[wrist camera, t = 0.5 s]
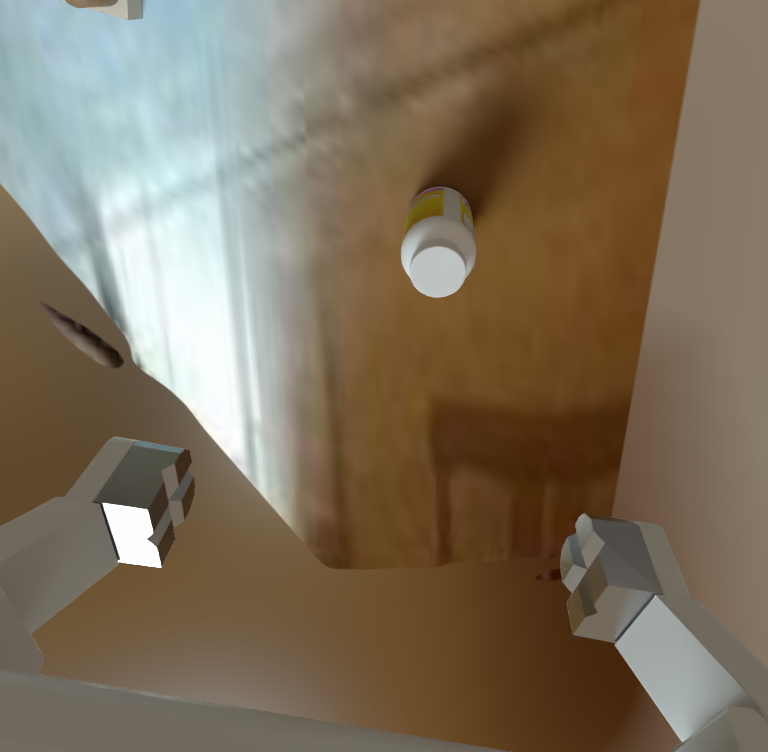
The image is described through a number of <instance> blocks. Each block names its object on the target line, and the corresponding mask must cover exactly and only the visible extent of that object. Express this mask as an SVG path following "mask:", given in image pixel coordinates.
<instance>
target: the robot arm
mask: <svg viewBox="0 0 768 752" xmlns="http://www.w3.org/2000/svg"><path fill="white" fill-rule="evenodd" d="M191 462H192V461H191V456H190V451H189V450H186V449H181V448H175V447H170V446H165V445H159V444H154V443H149V442H144V441H137V440H132V439H126V438H120V437H113V438H112V439H110V440H108V441H107V442H106V443H105V445H104V446H103V447H102V449H101V450H100V451H99V452H98V454H97V455H96V457H95V458H94V459H93V460H92V462H91V463H90V465H89V466H88V467H87V468H86V470H85V471H84V472H83V474H82V475H81V476H80V478H79V479H78V480H77V482H76V483H75V484H74V486H73V487H72V488H71V489H70V491H69V492H68V493H67V495H66V496H65V497H64V498H62V497H55V498H54V499H52V500H50V501H48V502H46V503H44V504H42V505H40V506H38V507H36V508H35V509H33V510H31V511H29V512H27V513H25V514H23V515H21V516H19V517H18V518H16V519H14V520H12V521H10V522H8V523H6V524H4V525H2V526H0V752H510V751H504V750H498V749H492V748H485V747H480V746H474V745H467V744H461V743H455V742H449V741H443V740H437V739H431V738H425V737H419V736H413V735H406V734H401V733H395V732H389V731H383V730H376V729H370V728H364V727H358V726H352V725H346V724H340V723H334V722H328V721H322V720H315V719H309V718H304V717H298V716H292V715H285V714H279V713H273V712H267V711H261V710H255V709H249V708H243V707H237V706H230V705H225V704H218V703H212V702H206V701H200V700H194V699H188V698H182V697H176V696H170V695H163V694H158V693H151V692H146V691H139V690H133V689H127V688H121V687H114V686H108V685H102V684H97V683H91V682H84V681H78V680H72V679H66V678H60V677H54V676H48V675H42V674H37V673H38V671H39V670H40V668H41V666H42V664H43V663H44V658H43V654H42V652H41V651H40V649H39V647H38V645H37V644H36V642H35V640H34V639H33V637H32V635H31V633H33V632H34V631H35V630H36V629H37V628H39V627H40V626H41V625H43V624H44V623H45V622H46V621H48V620H49V619H50V618H51V617H53V616H54V615H55V614H57V613H58V612H59V611H60V610H61V609H63V608H64V607H65V606H66V605H68V604H69V603H71V602H72V601H73V600H74V599H76V598H77V597H78V596H79V595H81V594H82V593H83V592H84V591H86V590H87V589H88V588H90V587H91V586H92V585H93V584H95V583H96V582H97V581H98V580H99V579H101V578H102V577H103V576H105V575H106V574H107V573H109V572H110V571H111V570H112V569H114V568H115V567H116V566H117V565H118V564H119V563H118V562H125V563H132V564H139V565H147V566H155V567H162V565H163V563H164V561H165V559H166V557H167V555H168V553H169V551H170V549H171V547H172V545H173V543H174V541H175V533H174V527H176V526H177V525H179V524H180V523H182V522H183V521H185V518H186V517H187V515H188V512H189V510H190V508H191V504H192V501H193V497H194V489H195V482H194V476H193V475H192V474H191V473H190V472H189V471H188V468H189V466H190V464H191ZM575 526H576V530H577V533H576V534H574V535H572V536H570V537H568V538H567V540H566V542H565V544H564V546H563V548H562V554H561V560H560V561H561V575H562V581H563V583H564V584H565V586H566V587H567V588H568V589H569V590H570V592H571V593H572V595H571V597H570V598H569V600H568V602H567V607H568V612H569V617H570V622H571V627H572V632H573V635H577V636H582V637H587V638H593V639H598V640H603V641H608V642H613V643H616V644H615V646H616V648H617V649H618V650H619V652H620V653H621V655H622V656H623V658H624V659H625V661H626V662H627V663H628V665H629V666H630V668H631V669H632V670H633V672H634V673H635V675H636V676H637V678H638V679H639V681H640V682H641V684H642V685H643V687H644V688H645V689H646V691H647V692H648V694H649V695H650V697H651V698H652V699H653V701H654V702H655V704H656V705H657V707H658V708H659V710H660V711H661V712H662V714H663V715H664V717H665V718H666V720H667V721H668V722H669V724H670V725H671V727H672V728H673V730H674V731H675V732H676V734H677V735H678V737H679V738H680V740H681V741H682V743H681V744H680V745H678V746H677V747H676V748H675V749H673V750H672V751H671V752H768V669H767V668H766V667H765V666H764V665H763V664H762V663H761V662H760V661H759V660H758V659H757V658H756V657H755V656H754V655H753V654H752V653H751V652H750V651H749V650H748V649H747V648H746V647H745V646H744V645H743V644H742V643H741V642H740V641H739V640H738V639H737V638H736V637H735V636H734V635H733V634H732V633H731V632H730V631H729V630H728V629H727V628H726V627H725V626H724V625H723V624H722V623H721V622H720V621H719V620H718V619H716V617H715V616H714V615H712V613H710V611H708V609H707V608H706V607H704V605H703V604H702V603H701V602H699V601H694V600H692V599H691V596H690V594H689V591H688V589H687V587H686V584H685V582H684V579H683V577H682V574H681V572H680V569H679V567H678V564H677V562H676V559H675V557H674V554H673V552H672V549H671V547H670V544H669V542H668V540H667V537H666V535H665V532H664V530H663V529H662V528H661V527H660V526H659V525H655V524H649V523H642V522H635V521H631V520H625V519H619V518H612V517H605V516H599V515H592V514H585V513H584V514H583V515H581V516H580V517H579V518H578V520H577V522H576V524H575Z"/></svg>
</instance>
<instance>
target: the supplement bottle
mask: <svg viewBox="0 0 768 752" xmlns="http://www.w3.org/2000/svg"><path fill="white" fill-rule="evenodd" d="M401 260H402V264H403V267H404V269H405V271H406V273H407V274H408V276H409V277H410V278H411V281H412V283H413V284H414V286H415V287H416V288H417V289H418V290H419V291H420V292H421V293H423V294H425V295H427V296H431V297H445V296H448V295H450V294H452V293H454V292H455V291H457V290H458V289H459V288H460V287H461V285H462V284H463V282H464V280H465V278H466V277H467V276H468V275H469V273H470V272H471V270H472V268H473V266H474V263H475V260H476V243H475V235H474V226H473V218H472V212H471V208H470V206H469V204H468V202H467V200H466V199H465V198H464V197H463V196H462V195H461V194H460V193H459V192H457V191H456V190H454V189H451V188H448V187H433V188H429V189H427V190H424V191H423V192H421V193H420V194H419V195H418V196H416V197H415V199H414V200H413V201H412V203H411V204H410V206H409V209H408V212H407V216H406V222H405V228H404V234H403V241H402V247H401Z"/></svg>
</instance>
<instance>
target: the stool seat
mask: <svg viewBox="0 0 768 752" xmlns="http://www.w3.org/2000/svg"><path fill="white" fill-rule="evenodd" d="M60 1H64V2H67V3H68V4H70V5H72V6H74V7H77V8H88V9H92V10H95V11H99V12H102V13H106V14H109V15H113V16H116V17H119V18H123V19H126V20H133V19H142V0H60Z"/></svg>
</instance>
